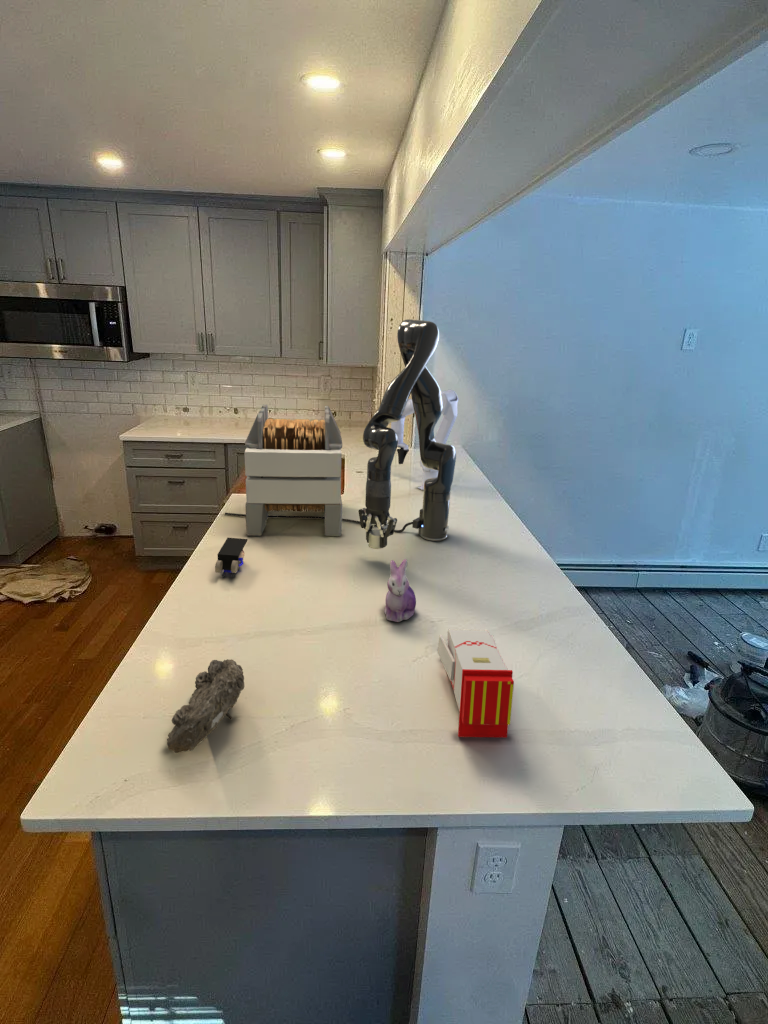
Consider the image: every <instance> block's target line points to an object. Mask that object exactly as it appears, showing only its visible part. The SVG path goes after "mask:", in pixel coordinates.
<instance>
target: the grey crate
mask: <svg viewBox="0 0 768 1024" xmlns="http://www.w3.org/2000/svg"><path fill="white" fill-rule="evenodd" d="M341 433H342V432H341V430H340V428H339V426H338V424H337V421H336V419H335V417H334V415H333V413H332V410H331V408H330V406H329V405H325V406H324V419H320V420H319V419H307V418H306V419H305V418H302V419H301V418H295V419H290V418H269V408H268V404H262V405H261V407H260V409H259V411H258V413H257V415H256V417H255V419H254V422H253V424H252V426H251V428H250V430H249V432H248V435H247V436H246V439H245V442H244V444H245V445H244V446H245V450H244V476H245V477H246V478H245V497H246V501H245V505H244V506H245V507H244V508H245V509H244V511H245V514H246V517H245V524H246V525H245V526H246V536H248V537H251V536H260V537H261V536H262V535H263V533H264V531H265V528H266V526H267V521H268V519H269V518H268V515H269V512H275V513H277V512H279V513H280V512H293V513H294V512H297V513H298V512H299V513H301V512H309V513H310V512H313V513H314V512H315V513H316V512H318V513H319V512H322V513H323V515H324V516H323V517H324V519H323V520H324V521H323V522H324V536H328V537H329V536H331V537H332V536H333V537H334V536H335V537H340V536H343V521H342V519H343V500H342V459H343V458H342V455H343V454H342V448H343V439H342V434H341Z"/></svg>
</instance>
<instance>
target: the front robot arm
mask: <svg viewBox="0 0 768 1024" xmlns="http://www.w3.org/2000/svg"><path fill="white" fill-rule="evenodd" d="M396 333H397V336H396V337H397V344H398V348H399V352H400V356H401V358H402V361H403V365H404V368H403V369H402V370H401V371H400V372H399V373H398V374H397V375H396V376H395V377H394V378H393V379H392V380H391V381H390V383H389V384H388V386H387V387H386V389H385V391H384V393H383V397H382V399H381V401H380V404H379V407H378V409H377V410H376V412H375V413H374V414H373V416H372V417H371V419H370V420H369V421H368V422H367V424H366V426H365V427H364V430H363V434H362V441H363V444H364V445H365V446H366V448H369V449H371V450H375V451H378V452H377V456H374V457H370V458H369V459H368V461H367V466H366V467H367V468H366V482H365V501H364V506H365V507H363V508H360V509H358V510H357V511H358V512H357V513H358V518H359V520H356V519H348V518H342V522H348V523H353V524H360V528H361V529H364V531H365V540H366V543H367V544H369V531H371V530H374V528H377V530H380V534H381V537H380V548H381V549H384V548H386V547H387V546H388V538H389V537H391V536H393V535H394V533H403V532H404V531H405V530H406V528H407V527H408V526H412V528H413V529H416V530H417V535H418V536H420V538H421V539H424V540H426V541H432V542H440V541H444V540H446V539H447V538H448V529H449V527H450V526H449V517H450V516H449V514H450V504H451V494H452V493H451V491H452V485H453V482H454V476H455V469H456V463H457V451H456V447H455V446H454V445H451V444H447V443H446V444H443V443H438V442H436V441H435V427H436V425H437V424H438V421H439V420H440V418H441V415H442V410H443V403H442V397H441V391H442V390H441V387H440V386H439V384H438V382H437V380H436V379H435V376H433V374H432V373H431V372H430V370H429V369H428V367H427V365H428V364H429V362H430V359H432V358H431V357H432V356H433V354H434V353H435V350H436V349H437V346H438V343H439V340H440V330H439V327H438V325H437V323H435V322H433V321H430V320H423V319H412V318H411V319H410V318H409V319H404V320H402V321H401V322H400V324H399V326H398V328H397V332H396ZM410 396H411V397H410ZM410 398H411V399H412V403H413V408H414V412H415V413H414V416H415V423H416V428H417V434H418V446H419V447H418V448H419V454H420V460H421V462H422V464H423V466H424V467H426V468H429V469H433V470H437V471H438V476H437V477H436V478H430V479H427V480H425V482H424V490H423V493H422V496H423V497H422V506H421V508H420V509H419V516H418V517H416V518H414V519H413V520H412V521H409V522H407V523H406V524H404V525H403V527H402V528H401V529H396V527H397V523H398V518H397V517H394V518H393V517H392V516H391V515H390V512H389V511H390V509H391V498H392V497H391V496H392V481H391V479H392V464H393V461H394V458H395V455H396V452H397V449H398V447H397V445H398V437H397V434H396V432H395V431H394V430H393V429H391V427H388V426H389V425H390V424H391V422H397V421H399V420H400V419H401V417H402V414H403V412H404V409H405V406H406V404H407V401H408V399H410ZM224 515H225V516H231V517H233V516H234V517H242V518H243V517H245V518H246V513H245V514H244V513H234V512H224ZM268 519H314V520H315V519H316V520H324V516H317V515H282V514H281V515H279V514H278V515H277V514H274V515H273V514H272V515H271V514H268Z"/></svg>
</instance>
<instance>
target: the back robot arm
mask: <svg viewBox="0 0 768 1024" xmlns="http://www.w3.org/2000/svg"><path fill="white" fill-rule="evenodd" d="M440 391H441V397H442V403H443V410H442V413H441V415H442V418H441V421H440V423H439V426H438V428H437V430H436V433H435V434H434V438H435V441H436V442H438V443H443V444H447V441H448V439H449V437H450V434H451V433H452V429H453V427H454V425H455V423H456V420H457V418H458V414H459V413H458V411H459V410H458V403H459V400H460V399H459V396H458V394H457V392H456V391H455V390H453V389H452V388H451V389H447V390H440ZM412 414H415V412H414V408H413V403H412V398H409V399H408V401H407V404H406V406H405V409H404V412H403V414H402V417H401V419H400V420H399V421H397V422H391V423H390V428H391V429H393V430H394V431H395V432H396V434H397V437H398V445H397V449H396V452H397V458H398V459H397V460H398V465H403V464H404V463H405V459H406V456H407V454H408V453H409V451H410V449H409V446H410V445H409V444H407V443H405V442H404V432H405V431H404V430H405V421H406V417H408V416H410V415H412ZM419 465H420V468H421V471H422V473H421V485H420V486H419V485H418V486H417V487H416V488H417V489H419V490H421V491H424V482H425V480H427V479H430V478H436V477H437V476H438V471H437V470H433V469H429V468H426V467H424V466H423V464H422V462H421V459H420V461H419Z"/></svg>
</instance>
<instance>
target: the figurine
mask: <svg viewBox="0 0 768 1024" xmlns="http://www.w3.org/2000/svg"><path fill="white" fill-rule="evenodd" d="M407 567H408V559H406V558H404V559H403V560H402V561H401V563H400V565H399V566H398V565H397V563H396V562H395V561H394V560H393V559H391V560H390V561H389V570H390V576H389V578H388V579H387V589H388V591H387V592H386V594H385V595H386V596H385V607H384V615H385V616H386V620H387V621H391V622H395V623H400V622H402V621H406V620H409V619H410V618H411V617H413V616H414V615H415V610H416V606H417V597H416V593H415V591H414V590H413V587H411V586H410V582H409V579H408V577H407V574H406V571H407Z"/></svg>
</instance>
